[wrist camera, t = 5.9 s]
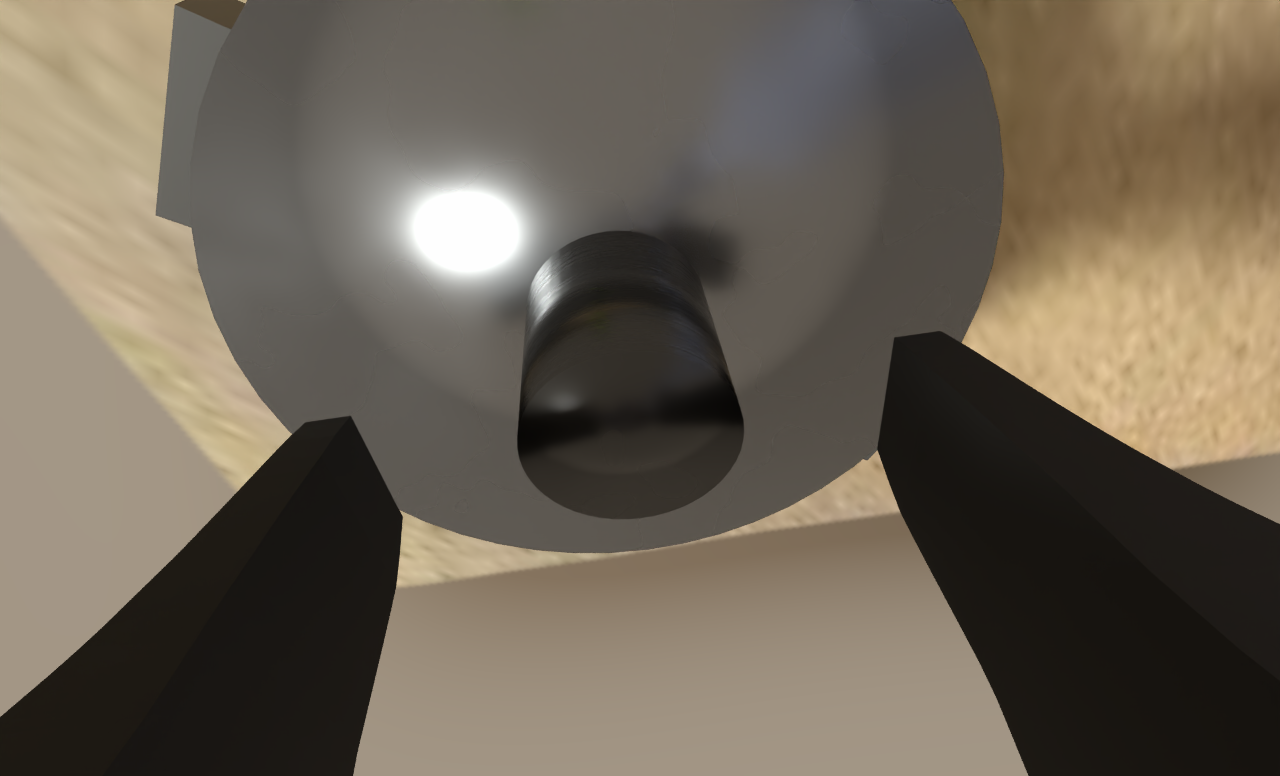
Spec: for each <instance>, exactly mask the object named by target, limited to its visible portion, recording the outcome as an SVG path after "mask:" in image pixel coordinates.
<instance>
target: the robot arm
mask: <svg viewBox="0 0 1280 776" xmlns="http://www.w3.org/2000/svg"><path fill="white" fill-rule="evenodd" d="M877 450H878V452H879V455H880V458H881V461H882V464H883V467H884V469H885V472H886V475H887V478H888V481H889V484H890V486H891V489H892V491H893V494H894V497H895V499H896V502H897V504H898V507H899V510H900V512H901V514H902V516H903V518H904V520H905V522H906V524H907V526H908V528H909V530H910V532H911V534H912V536H913V538H914V540H915V542H916V543H917V545H918V547H919V549H920V551H921V553H922V555H923V557H924V559H925V561H926V563H927V565H928V566H929V568H930V570H931V572H932V574H933V576H934V578H935V579H936V582H937V584H938V585H939V587H940V589H941V591H942V593H943V595H944V597H945V599H946V600H947V602H948V604H949V606H950V608H951V610H952V612H953V614H954V615H955V617H956V619H957V621H958V623H959V625H960V627H961V628H962V630H963V632H964V634H965V636H966V638H967V640H968V642H969V644H970V646H971V647H972V649H973V651H974V653H975V655H976V657H977V659H978V661H979V663H980V664H981V666H982V669H983V671H984V673H985V675H986V677H987V679H988V681H989V683H990V685H991V687H992V689H993V692H994V694H995V696H996V698H997V700H998V703H999V705H1000V708H1001V710H1002V712H1003V715H1004V717H1005V720H1006V722H1007V724H1008V727H1009V729H1010V732H1011V734H1012V737H1013V739H1014V742H1015V744H1016V746H1017V749H1018V751H1019V754H1020V756H1021V759H1022V761H1023V763H1024V766H1025V768H1026V770H1027V773H1028V775H1029V776H1280V524H1278V523H1276V522H1274V521H1272V520H1270V519H1268V518H1266V517H1264V516H1261V515H1259V514H1257V513H1255V512H1253V511H1251V510H1249V509H1247V508H1245V507H1242V506H1240V505H1238V504H1236V503H1234V502H1232V501H1230V500H1228V499H1226V498H1224V497H1222V496H1220V495H1218V494H1217V493H1214V492H1213V491H1211V490H1209V489H1206V488H1205V487H1203V486H1201V485H1199V484H1197V483H1195V482H1193V481H1191V480H1190V479H1188V478H1186V477H1184V476H1182V475H1180V474H1179V473H1177V472H1175V471H1173V470H1171V469H1170V468H1168V467H1166V466H1164V465H1162V464H1160V463H1159V462H1157V461H1155V460H1153V459H1151V458H1149V457H1148V456H1146V455H1144V454H1142V453H1140V452H1139V451H1137V450H1135V449H1133V448H1131V447H1130V446H1128V445H1126V444H1124V443H1123V442H1121V441H1119V440H1118V439H1116V438H1114V437H1112V436H1111V435H1109V434H1107V433H1106V432H1104V431H1102V430H1100V429H1099V428H1097V427H1095V426H1094V425H1092V424H1090V423H1089V422H1087V421H1085V420H1084V419H1082V418H1080V417H1079V416H1077V415H1075V414H1074V413H1072V412H1071V411H1069V410H1067V409H1066V408H1064V407H1062V406H1061V405H1059V404H1057V403H1056V402H1054V401H1053V400H1051V399H1049V398H1048V397H1046V396H1045V395H1043V394H1041V393H1040V392H1038V391H1037V390H1035V389H1033V388H1032V387H1030V386H1029V385H1027V384H1026V383H1024V382H1022V381H1021V380H1019V379H1018V378H1016V377H1015V376H1013V375H1011V374H1010V373H1008V372H1007V371H1005V370H1004V369H1002V368H1000V367H999V366H997V365H996V364H994V363H993V362H991V361H989V360H988V359H986V358H985V357H983V356H981V355H980V354H978V353H977V352H975V351H974V350H972V349H970V348H969V347H967V346H966V345H964V344H962V343H961V342H959V341H957V340H956V339H954V338H952V337H950V336H949V335H947V334H945V333H943V332H942V331H935V332H928V333H921V334H915V335H908V336H901V337H894V342H893V348H892V355H891V361H890V368H889V374H888V381H887V388H886V394H885V401H884V407H883V414H882V420H881V427H880V433H879V440H878V447H877ZM402 520H403V516H402V514H401V512H400V511H399V509H398V507H397V505H396V503H395V501H394V499H393V497H392V495H391V493H390V491H389V489H388V487H387V485H386V483H385V481H384V479H383V477H382V475H381V473H380V471H379V470H378V468H377V466H376V464H375V462H374V460H373V458H372V456H371V454H370V452H369V450H368V448H367V446H366V444H365V442H364V440H363V438H362V436H361V434H360V432H359V431H358V429H357V427H356V425H355V423H354V421H353V419H352V417H351V416H345V417H338V418H331V419H324V420H317V421H310V422H305V423H304V424H303V425H302V426H301V427H300V428H299V429H298V430H296V431H295V432H294V433H293V434H292V435H291V436H290V437H289V438H288V439H287V440H286V441H285V442H284V443H283V444H282V445H281V446H280V447H279V448H278V449H277V450H276V452H275V453H274V454H273V455H272V456H271V457H270V458H269V459H268V460H267V461H266V462H265V463H264V464H263V465H262V466H261V467H260V468H259V469H258V470H257V472H256V473H255V474H254V475H253V476H252V477H251V478H250V479H249V480H248V481H247V482H246V483H245V484H244V485H243V486H242V487H241V489H240V490H239V491H238V492H237V493H236V494H235V495H234V496H233V497H232V498H231V499H230V500H229V501H228V502H227V504H225V505H224V506H223V508H222V509H221V510H220V511H219V512H218V513H217V514H216V515H215V516H214V517H213V518H212V519H211V520H210V521H209V522H208V523H207V524H206V525H205V526H204V527H203V528H202V529H201V531H199V533H198V534H197V535H196V536H195V537H194V538H193V539H192V540H191V541H190V542H189V543H188V544H187V545H186V546H185V547H184V548H183V549H182V550H181V551H180V552H179V553H178V554H177V555H176V556H175V557H174V558H173V559H172V560H171V561H170V562H169V563H168V564H167V565H166V566H165V567H164V568H163V569H162V570H161V571H160V572H159V573H158V574H157V575H156V576H155V577H154V578H153V579H152V580H151V581H150V582H149V583H148V584H146V585H145V587H143V588H142V589H141V590H140V591H139V592H138V593H137V594H136V595H135V596H134V597H133V598H132V599H131V600H130V601H129V602H128V603H127V604H126V605H125V606H124V607H123V608H122V609H121V610H120V611H119V612H118V613H117V614H116V615H115V616H114V617H113V618H112V619H111V620H109V622H108V623H106V624H105V625H104V626H103V627H102V629H100V630H99V631H98V632H97V633H96V634H95V635H94V636H93V637H92V638H90V639H89V640H88V641H87V642H86V643H85V644H84V645H83V646H82V647H81V648H80V649H78V650H77V651H76V652H75V653H74V654H73V655H72V656H71V657H69V658H68V659H67V660H66V661H65V662H64V663H63V664H62V665H60V666H59V667H58V668H57V669H56V670H55V671H54V672H53V673H51V674H50V675H49V676H48V677H47V678H46V679H44V680H43V681H42V682H41V683H40V684H38V686H36V687H35V688H34V689H33V690H31V691H30V692H29V693H28V694H27V695H26V696H24V697H23V698H22V699H21V700H20V701H19V702H17V703H16V704H15V705H14V706H13V707H11V708H10V709H9V710H8V711H7V712H6V713H4V714H3V715H2V716H1V717H0V776H353V773H354V767H355V762H356V757H357V752H358V747H359V744H360V739H361V735H362V731H363V727H364V723H365V718H366V714H367V710H368V706H369V702H370V697H371V693H372V689H373V685H374V680H375V676H376V672H377V668H378V664H379V659H380V655H381V651H382V647H383V643H384V638H385V634H386V630H387V625H388V620H389V616H390V612H391V608H392V603H393V599H394V594H395V589H396V583H397V575H398V566H399V557H400V545H401V532H402Z"/></svg>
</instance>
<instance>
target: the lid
mask: <svg viewBox="0 0 1280 776" xmlns="http://www.w3.org/2000/svg"><path fill="white" fill-rule="evenodd" d="M1003 180H1004V169H1003V158H1002V147H1001V137H1000V126H999V120H998V116H997V112H996V108H995V104H994V100H993V96H992V92H991V88H990V84H989V80H988V76H987V72H986V70H985V67H984V65H983V63H982V61H981V58H980V56H979V54H978V51H977V49H976V47H975V44H974V42H973V40H972V37H971V35H970V33H969V30H968V28H967V26H966V24H965V21H964V19H963V18H962V16H961V15H960V13H959V12H958V10H957V9H956V7H955V5H954V4H953V2H952V1H951V0H247V2H246V4H245V6H244V7H243V9H242V11H241V13H240V15H239V16H238V18H237V20H236V22H235V24H234V26H233V27H232V29H231V31H230V33H229V35H228V36H227V38H226V40H225V42H224V44H223V46H222V47H221V49H220V51H219V53H218V55H217V58H216V61H215V64H214V67H213V70H212V73H211V76H210V79H209V82H208V85H207V88H206V91H205V94H204V96H203V99H202V102H201V105H200V108H199V112H198V118H197V125H196V131H195V137H194V144H193V150H192V156H191V162H190V222H191V228H192V234H193V240H194V246H195V252H196V258H197V264H198V270H199V273H200V276H201V279H202V282H203V285H204V289H205V292H206V295H207V298H208V301H209V304H210V307H211V310H212V313H213V316H214V319H215V321H216V323H217V325H218V327H219V329H220V331H221V333H222V335H223V337H224V339H225V341H226V343H227V345H228V347H229V349H230V351H231V353H232V355H233V357H234V359H235V361H236V362H237V364H238V365H239V367H240V368H241V370H242V371H243V373H244V374H245V376H246V377H247V379H248V380H249V382H250V383H251V385H252V386H253V388H254V389H255V391H256V392H257V394H258V395H259V397H260V398H261V399H262V401H263V402H264V403H265V404H266V405H267V406H268V408H269V409H270V410H271V411H272V412H273V413H274V414H275V416H276V417H277V418H278V419H279V420H280V421H281V423H282V424H283V425H284V426H285V427H286V428H287V429H288V431H289V432H290V433H292V434H293V433H294V432H295V431H296V430H298V429H299V428H300V427H301V426H302V425H303V424H304V423H305V422H310V421H317V420H324V419H331V418H338V417H345V416H351V417H352V419H353V421H354V423H355V425H356V427H357V429H358V431H359V432H360V434H361V436H362V438H363V440H364V442H365V444H366V446H367V448H368V450H369V452H370V454H371V456H372V458H373V460H374V462H375V464H376V466H377V468H378V470H379V471H380V473H381V475H382V477H383V479H384V481H385V483H386V485H387V487H388V489H389V491H390V493H391V495H392V497H393V499H394V501H395V503H396V505H397V507H398V509H399V510H401V511H403V512H405V513H407V514H410V515H412V516H414V517H416V518H418V519H420V520H423V521H425V522H428V523H430V524H433V525H436V526H439V527H442V528H445V529H447V530H450V531H453V532H456V533H459V534H462V535H466V536H469V537H473V538H477V539H481V540H485V541H489V542H493V543H497V544H502V545H508V546H514V547H520V548H526V549H533V550H542V551H554V552H567V553H614V552H625V551H637V550H648V549H654V548H659V547H665V546H671V545H677V544H683V543H687V542H691V541H695V540H699V539H703V538H707V537H710V536H714V535H718V534H721V533H724V532H727V531H730V530H733V529H736V528H739V527H742V526H744V525H747V524H750V523H753V522H756V521H758V520H760V519H762V518H765V517H767V516H769V515H771V514H774V513H776V512H778V511H780V510H783V509H785V508H787V507H789V506H791V505H793V504H795V503H796V502H798V501H800V500H802V499H804V498H805V497H807V496H809V495H811V494H813V493H814V492H816V491H818V490H820V489H822V488H823V487H824V486H826V485H827V484H829V483H830V482H832V481H833V480H835V479H836V478H838V477H839V476H841V475H842V474H844V473H845V472H847V471H848V470H850V469H851V468H852V467H854V466H855V465H856V464H857V463H859V462H860V461H861V460H862V459H863V458H865V457H866V456H867V455H868V454H870V453H871V452H872V451H873V450H874V449H876V448H877V447H878V440H879V433H880V427H881V420H882V414H883V407H884V401H885V394H886V388H887V381H888V374H889V368H890V361H891V355H892V348H893V342H894V337H901V336H908V335H915V334H921V333H928V332H935V331H942V332H943V333H945V334H947V335H949V336H950V337H952V338H954V339H956V340H957V341H959V342H962V340H963V338H964V336H965V334H966V332H967V330H968V328H969V326H970V324H971V322H972V320H973V318H974V316H975V313H976V311H977V309H978V307H979V304H980V301H981V298H982V295H983V292H984V289H985V286H986V283H987V280H988V277H989V274H990V271H991V269H992V265H993V260H994V255H995V250H996V245H997V240H998V235H999V230H1000V225H1001V215H1002V198H1003Z"/></svg>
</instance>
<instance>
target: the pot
mask: <svg viewBox="0 0 1280 776" xmlns="http://www.w3.org/2000/svg"><path fill="white" fill-rule="evenodd" d="M244 6H245V3H243V2H240V1H238V0H184V1H182V2H180V3H177V4H175V8H174V19H173V30H172V41H171V52H170V63H169V74H168V85H167V96H166V107H165V118H164V129H163V140H162V151H161V162H160V173H159V183H158V194H157V205H156V216H159V217H162V218H165V219H168V220H171V221H174V222H177V223H180V224H183V225H185V226H188V227H191V222H190V162H191V156H192V150H193V144H194V137H195V131H196V125H197V118H198V112H199V108H200V105H201V102H202V99H203V96H204V94H205V91H206V88H207V85H208V82H209V79H210V76H211V73H212V70H213V67H214V64H215V61H216V58H217V55H218V53H219V51H220V49H221V47H222V46H223V44H224V42H225V40H226V38H227V36H228V35H229V33H230V31H231V29H232V27H233V26H234V24H235V22H236V20H237V18H238V16H239V15H240V13H241V11H242V9H243V7H244ZM876 451H877V448H876V449H874V450H873V451H872V452H871V453H870V454H868V455H867V456H866V457H865V458H863V459H865V460H868V459H869V458H870V457H871V456H872V455H873V454H874V453H875V452H876Z"/></svg>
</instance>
